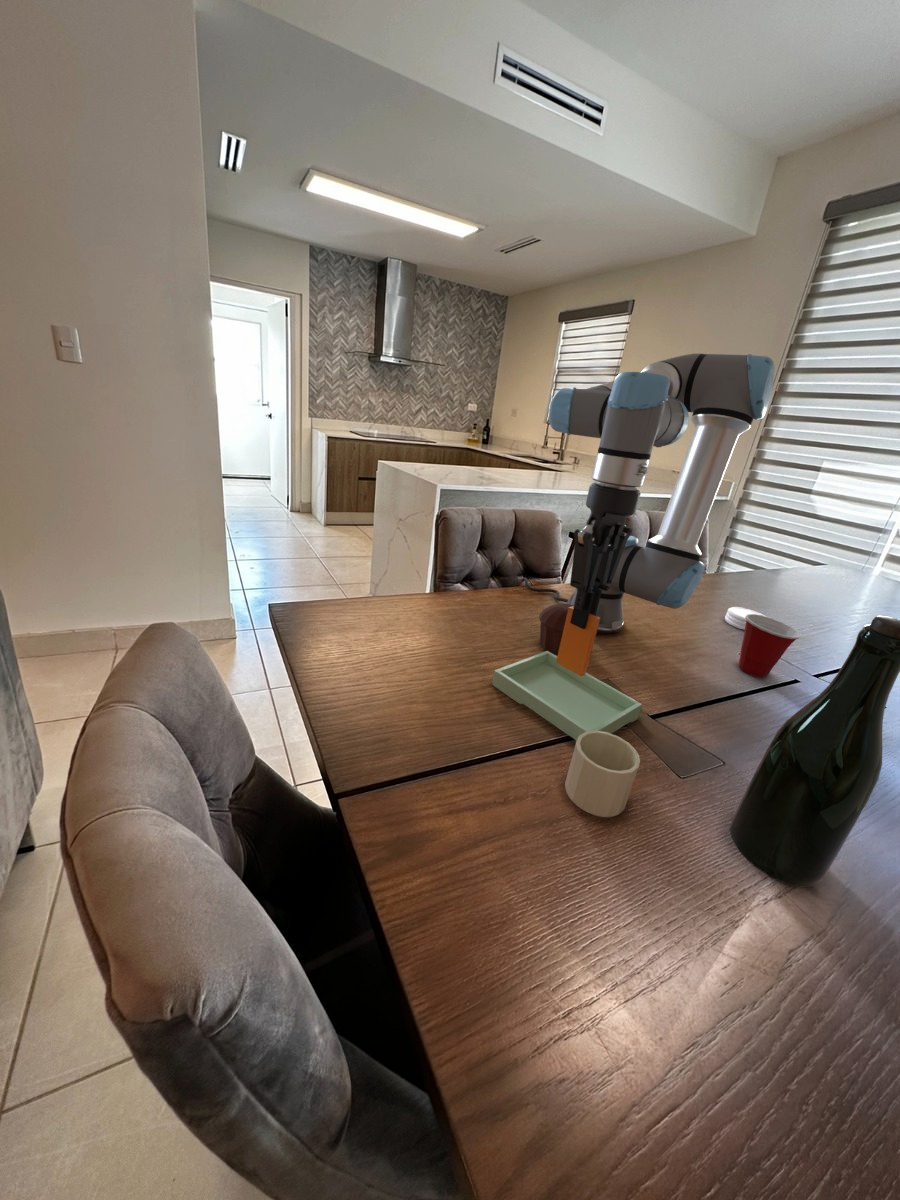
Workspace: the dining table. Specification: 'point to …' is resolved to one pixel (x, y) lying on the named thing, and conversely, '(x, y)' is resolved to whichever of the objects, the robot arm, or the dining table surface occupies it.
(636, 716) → the tray
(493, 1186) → the dining table surface
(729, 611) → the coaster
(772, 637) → the plastic cup
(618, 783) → the sugar cup
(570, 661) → the plate
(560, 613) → the muffin
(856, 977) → the dining table surface
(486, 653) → the dining table surface
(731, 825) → the beer bottle
